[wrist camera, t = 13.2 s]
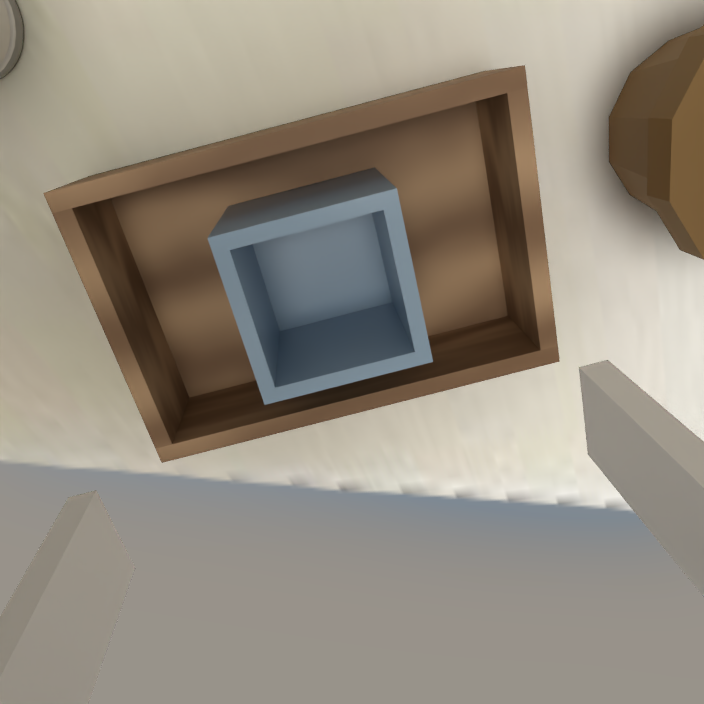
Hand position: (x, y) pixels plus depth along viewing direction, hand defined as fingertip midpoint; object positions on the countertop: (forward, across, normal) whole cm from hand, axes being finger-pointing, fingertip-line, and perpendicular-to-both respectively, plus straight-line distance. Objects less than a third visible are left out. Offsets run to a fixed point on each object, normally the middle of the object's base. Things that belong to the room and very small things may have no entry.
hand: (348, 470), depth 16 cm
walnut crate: (+25, 0, 0) cm, 25 cm away
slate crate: (+24, 0, 0) cm, 24 cm away
